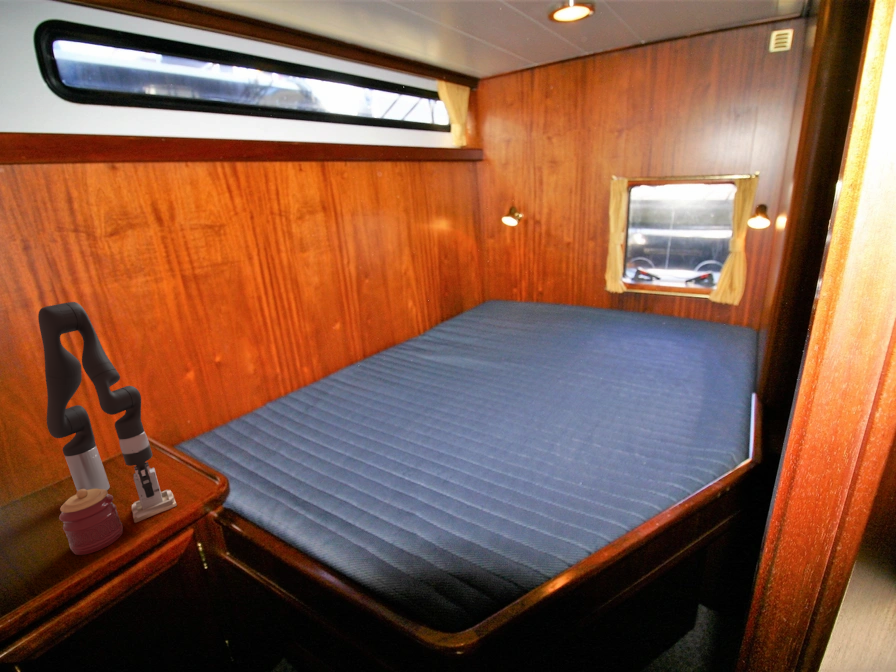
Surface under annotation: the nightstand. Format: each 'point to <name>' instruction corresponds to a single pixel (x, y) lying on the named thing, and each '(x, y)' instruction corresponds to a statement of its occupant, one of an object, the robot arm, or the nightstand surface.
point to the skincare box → (157, 493)
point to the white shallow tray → (153, 507)
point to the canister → (90, 521)
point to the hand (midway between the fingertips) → (149, 491)
